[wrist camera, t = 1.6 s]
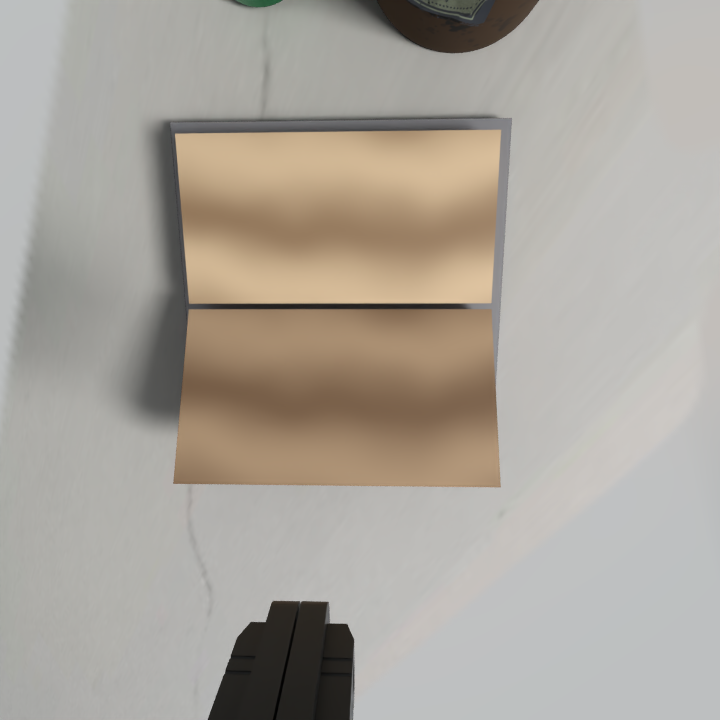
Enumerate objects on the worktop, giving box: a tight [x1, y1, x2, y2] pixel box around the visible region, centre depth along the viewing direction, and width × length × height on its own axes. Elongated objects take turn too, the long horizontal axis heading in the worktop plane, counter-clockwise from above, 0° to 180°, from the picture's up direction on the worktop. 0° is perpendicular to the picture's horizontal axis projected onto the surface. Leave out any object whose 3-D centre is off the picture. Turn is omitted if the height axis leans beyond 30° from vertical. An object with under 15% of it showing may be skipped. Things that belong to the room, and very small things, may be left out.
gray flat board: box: [170, 118, 512, 388], centre depth 28 cm, size 20×18×1 cm
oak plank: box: [175, 130, 501, 304], centre depth 25 cm, size 8×16×2 cm, turn 90°
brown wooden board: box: [173, 309, 501, 487], centre depth 25 cm, size 9×16×2 cm, turn 90°
